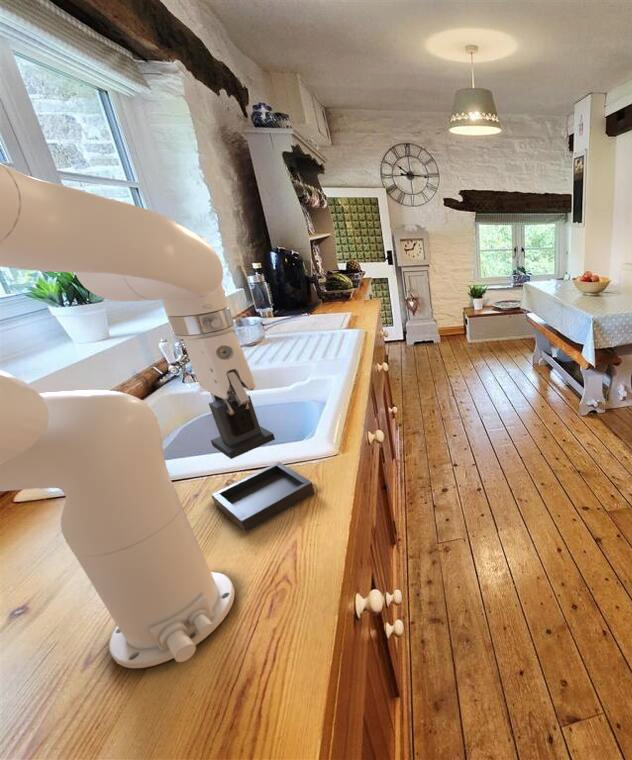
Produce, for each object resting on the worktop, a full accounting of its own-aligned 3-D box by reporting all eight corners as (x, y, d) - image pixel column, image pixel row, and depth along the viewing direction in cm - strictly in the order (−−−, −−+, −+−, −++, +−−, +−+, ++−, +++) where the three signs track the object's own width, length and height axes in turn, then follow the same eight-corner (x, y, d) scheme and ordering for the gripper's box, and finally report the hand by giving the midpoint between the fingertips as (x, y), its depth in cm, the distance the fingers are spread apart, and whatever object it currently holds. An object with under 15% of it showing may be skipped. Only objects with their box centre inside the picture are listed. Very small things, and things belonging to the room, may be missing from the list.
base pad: (314, 492, 75) (311, 482, 74) (245, 532, 66) (241, 521, 65) (281, 471, 82) (278, 461, 81) (214, 504, 73) (210, 494, 72)
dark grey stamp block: (275, 439, 70) (262, 396, 67) (231, 459, 65) (214, 413, 61) (255, 428, 74) (242, 387, 70) (212, 446, 69) (196, 402, 65)
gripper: (255, 323, 59) (286, 433, 66) (208, 310, 68) (241, 408, 75) (195, 337, 54) (237, 455, 61) (153, 321, 63) (194, 425, 70)
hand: (239, 428), depth 68 cm, fingers closed on dark grey stamp block, 3 cm apart
